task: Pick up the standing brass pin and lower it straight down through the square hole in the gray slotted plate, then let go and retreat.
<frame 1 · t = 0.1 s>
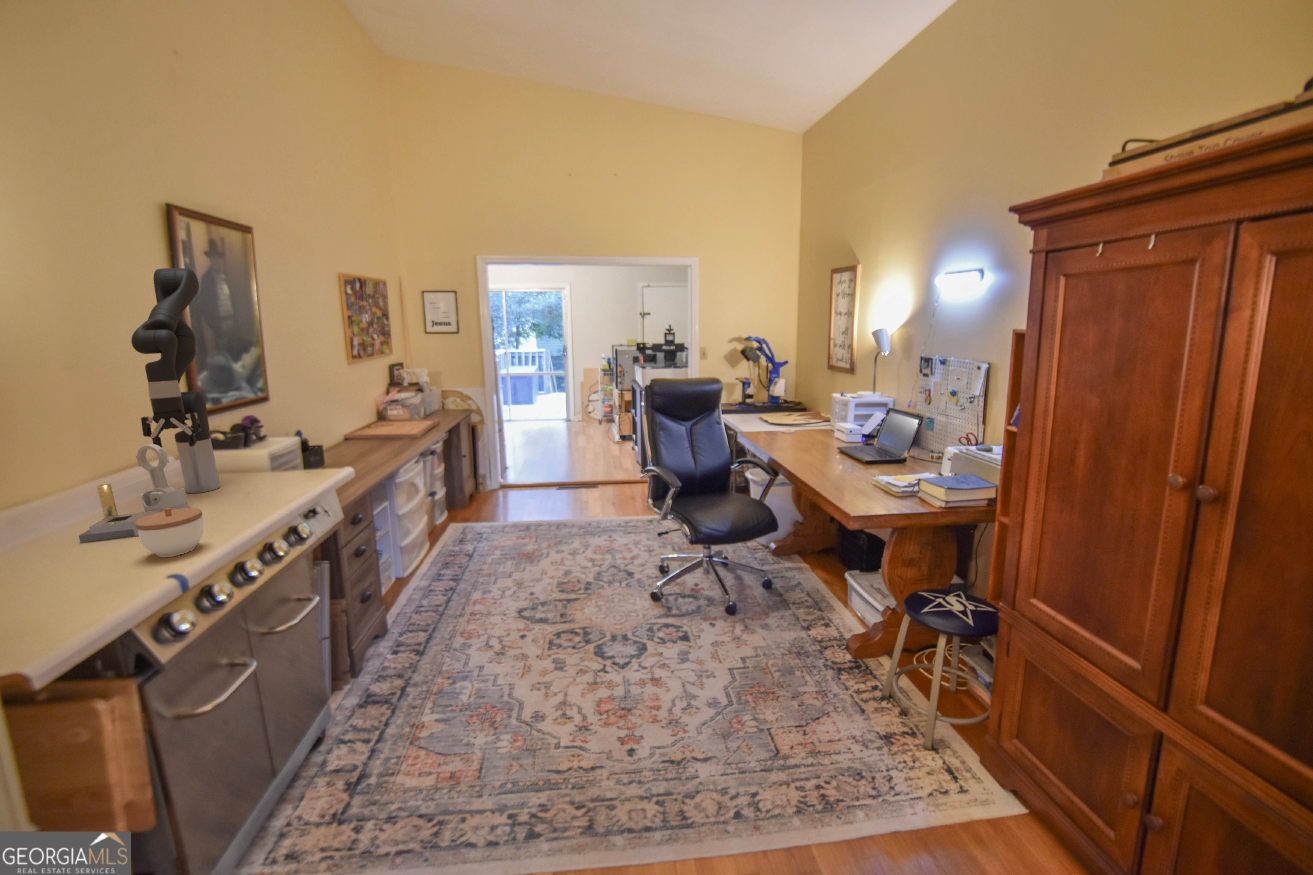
hand: (176, 447, 184), 17 cm above the counter, tool pointing down, fingers open, 8 cm apart
engine component: (166, 511, 178), on the counter
lidded bowl: (177, 552, 144), on the counter
brass pin: (113, 526, 165), on the counter
gray slotted plate: (123, 533, 159), on the counter
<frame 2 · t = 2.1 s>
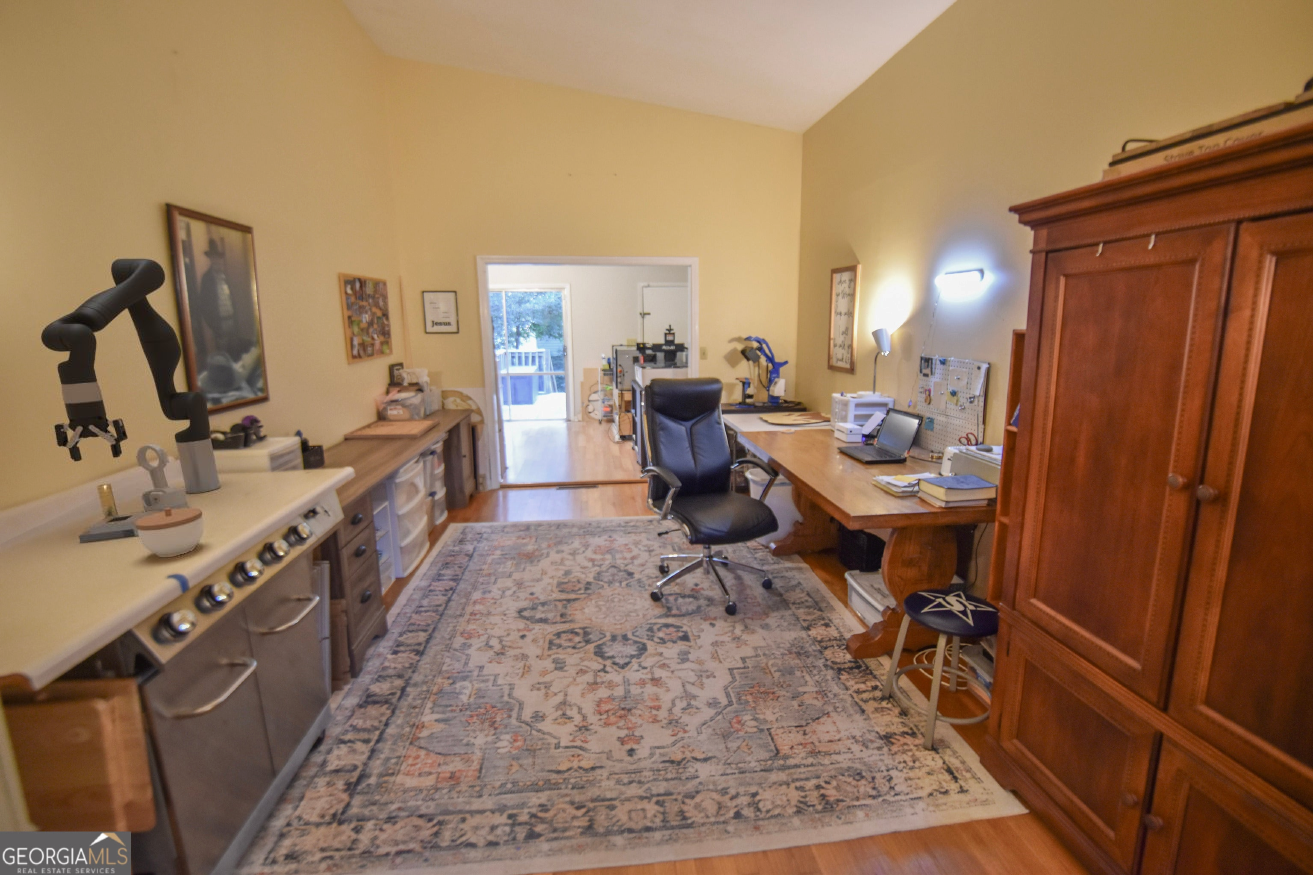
hand: (97, 458, 161), 19 cm above the counter, tool pointing down, fingers open, 8 cm apart
nothing on the counter moved.
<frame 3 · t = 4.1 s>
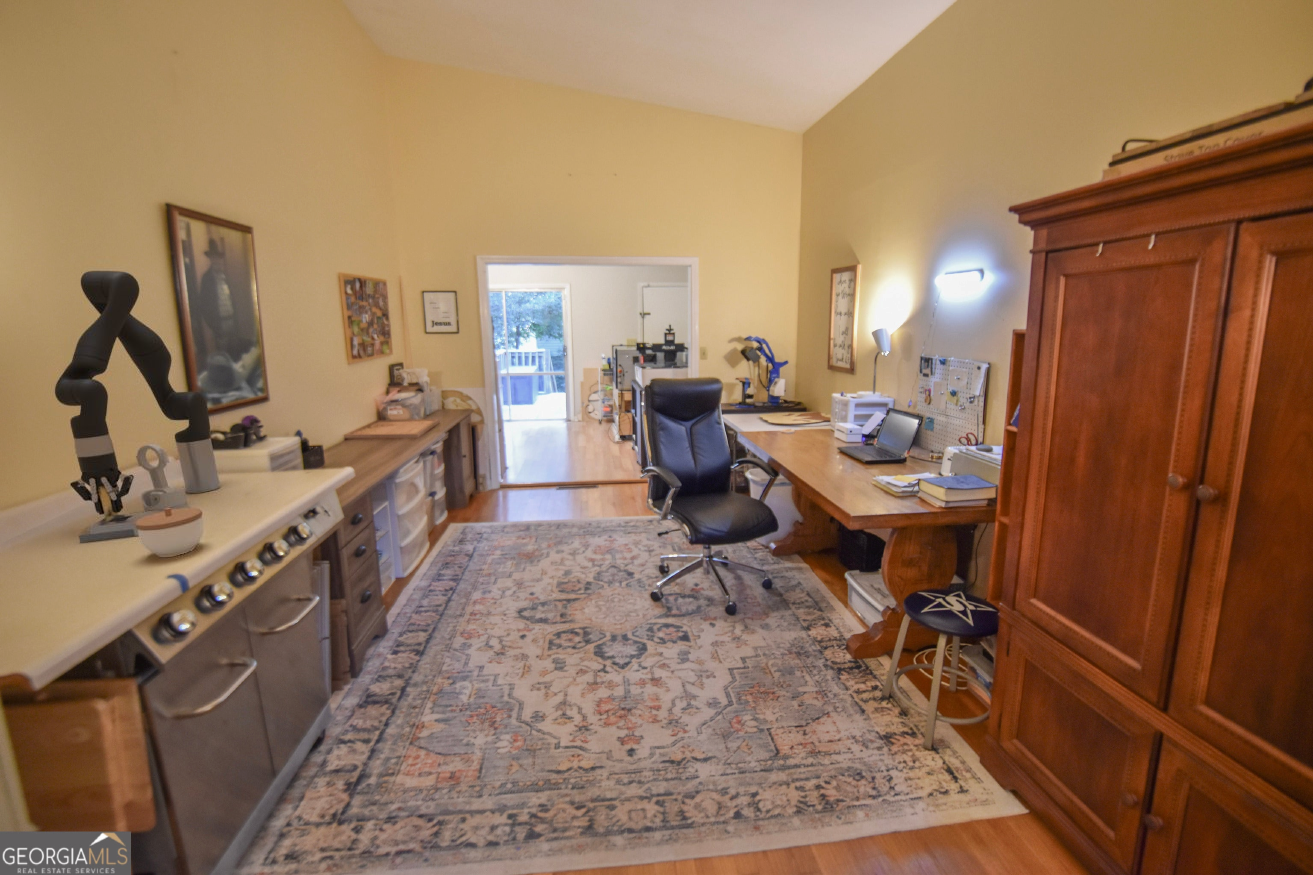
hand: (110, 512, 164), 4 cm above the counter, tool pointing down, fingers closed on brass pin, 2 cm apart
brass pin: (113, 526, 165), on the counter, touching gripper
everything else where it was.
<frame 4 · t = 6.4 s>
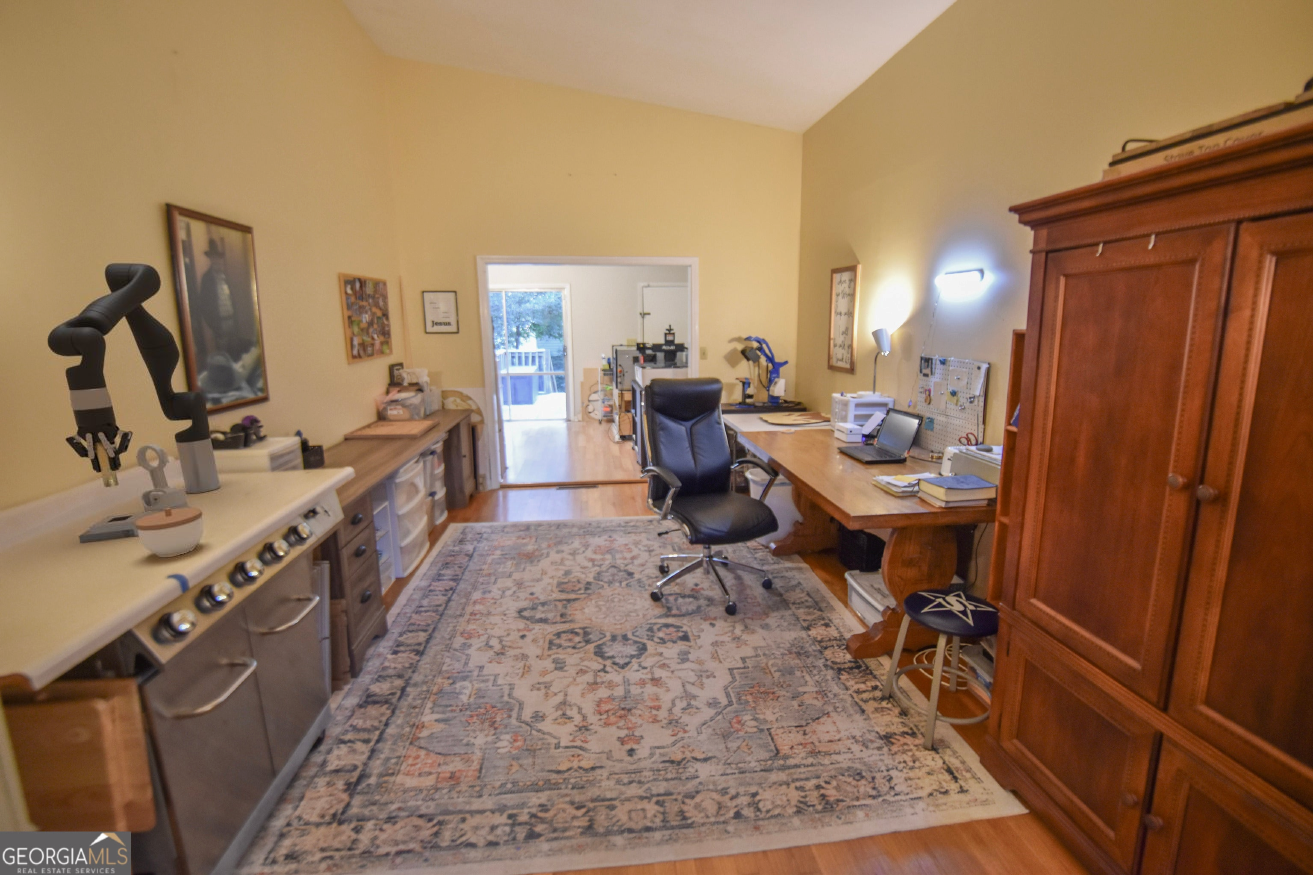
hand: (107, 470, 156), 17 cm above the counter, tool pointing down, fingers closed on brass pin, 2 cm apart
brass pin: (111, 485, 156), point 13 cm above the counter, touching gripper
everything else where it was.
when the fingers open (6 cm above the counter, at t = 8.7 s): brass pin drops 1 cm, resting in gray slotted plate.
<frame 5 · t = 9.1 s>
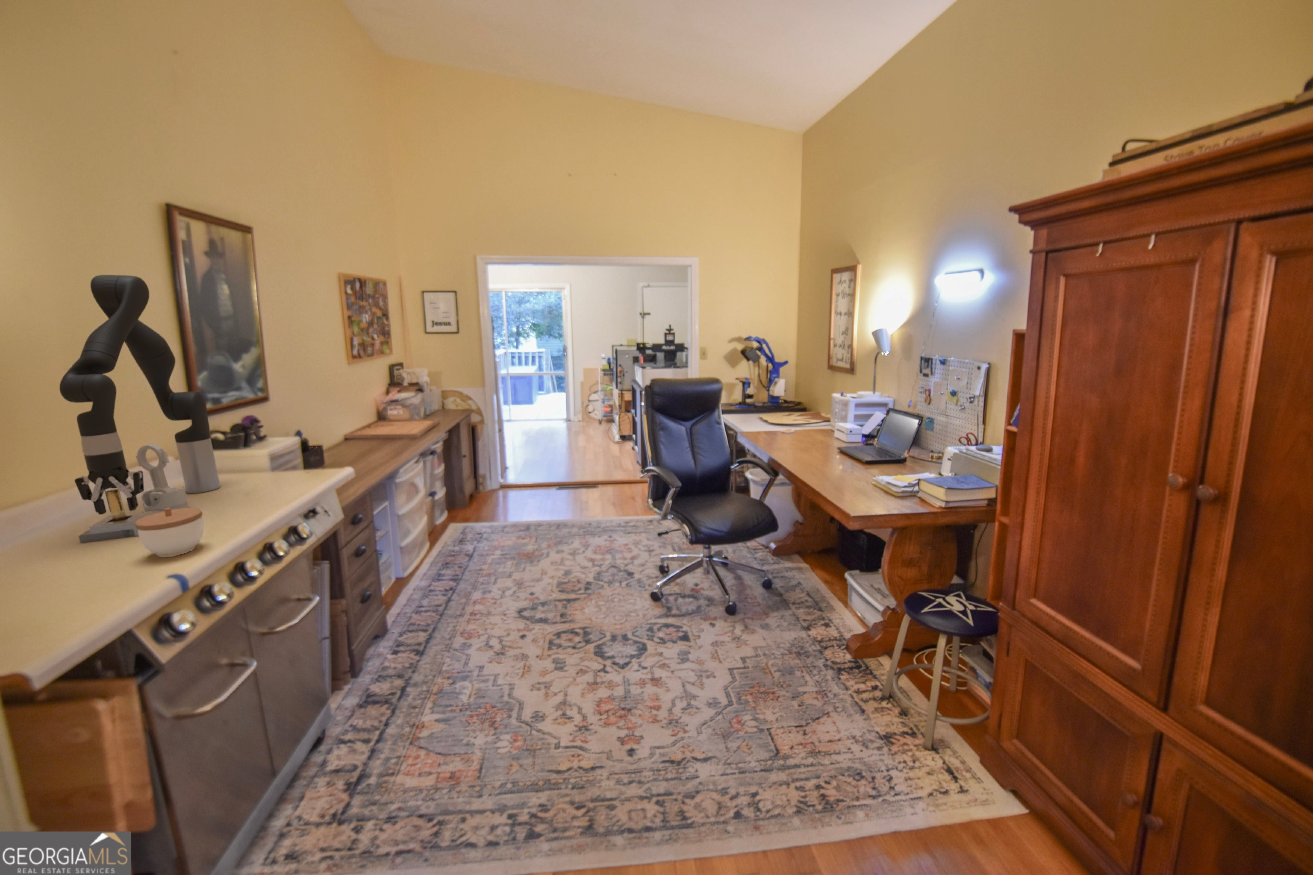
hand: (117, 511, 158), 6 cm above the counter, tool pointing down, fingers open, 6 cm apart
brass pin: (123, 532, 159), resting in gray slotted plate
everything else where it was.
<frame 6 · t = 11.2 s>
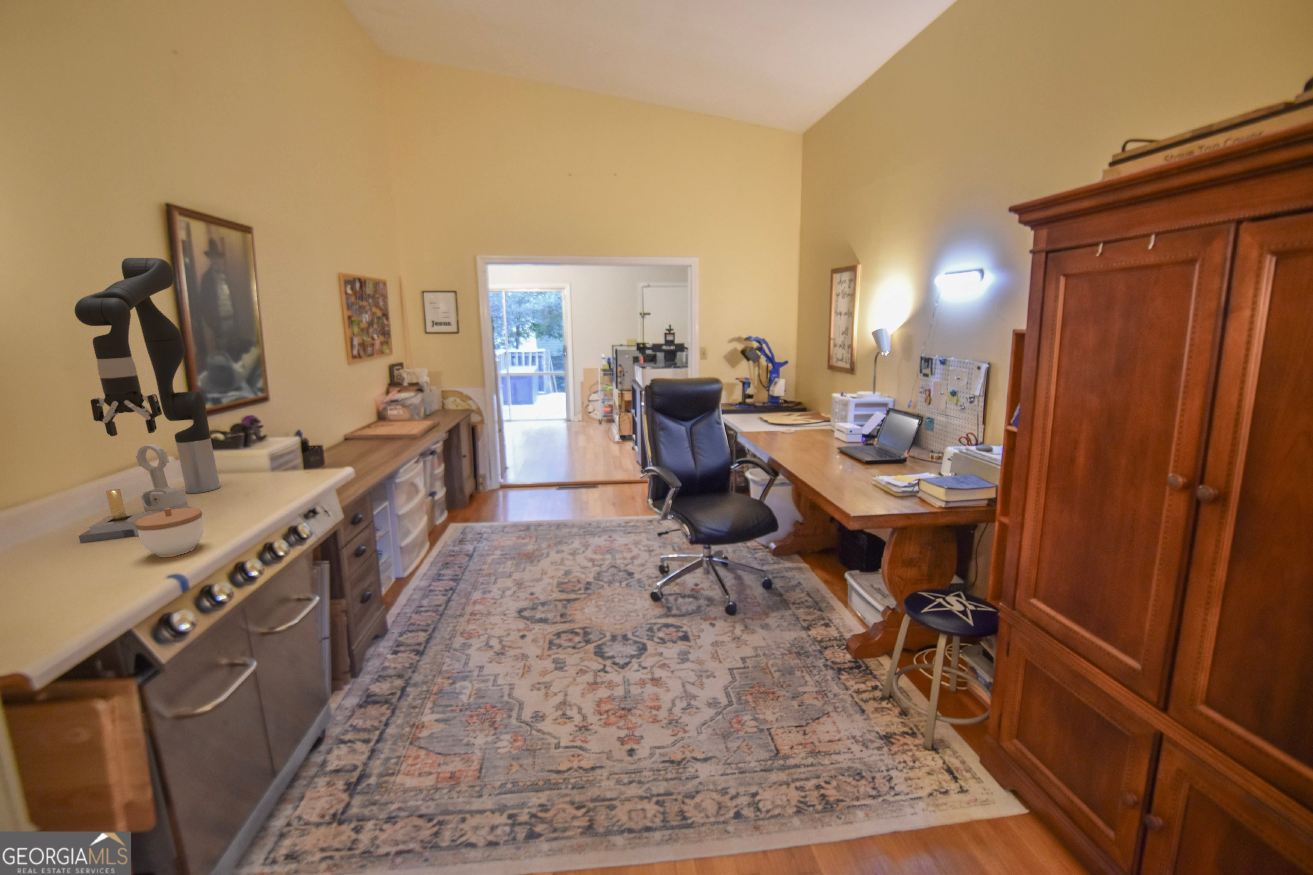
hand: (133, 434, 161), 26 cm above the counter, tool pointing down, fingers open, 8 cm apart
nothing on the counter moved.
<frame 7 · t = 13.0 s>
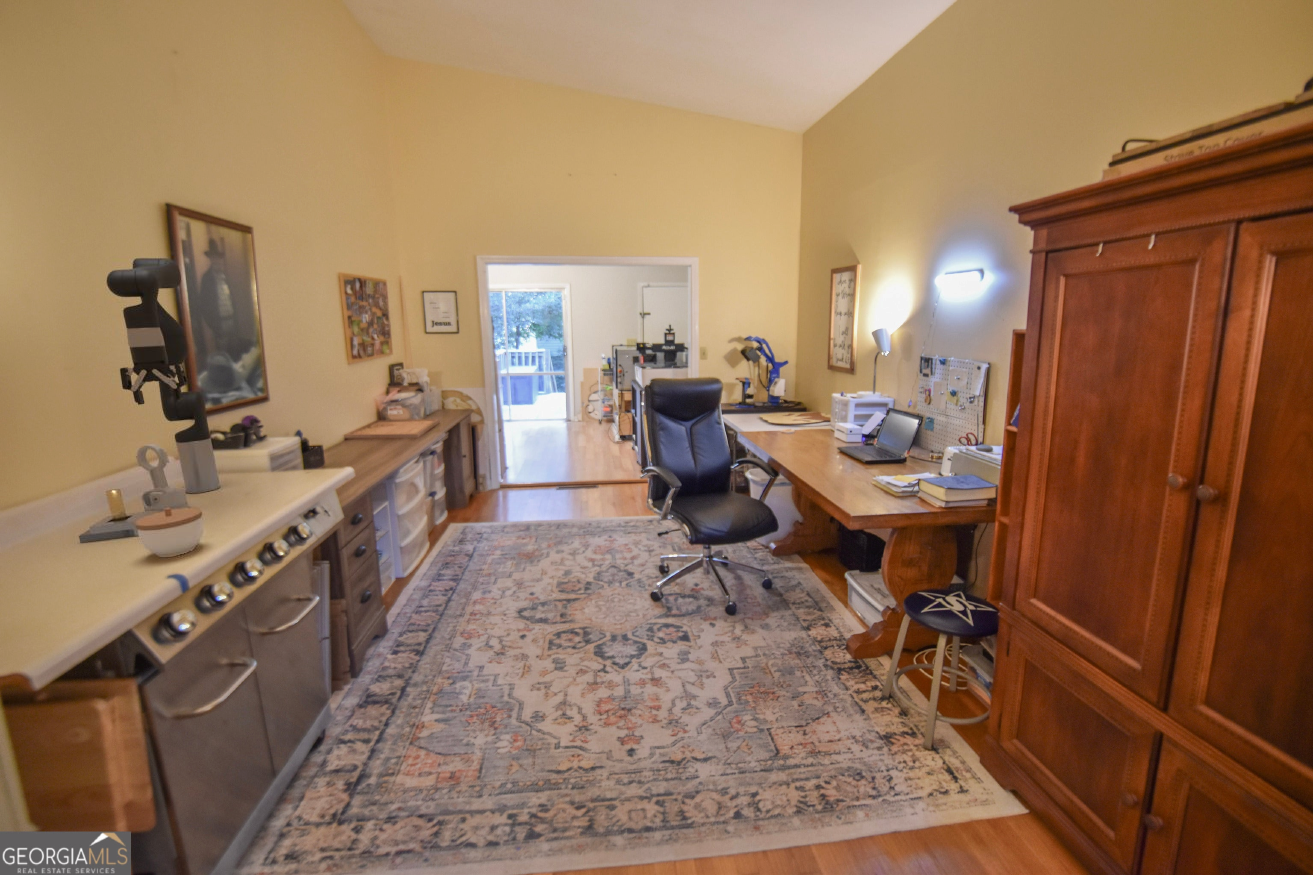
hand: (159, 402, 166), 33 cm above the counter, tool pointing down, fingers open, 8 cm apart
nothing on the counter moved.
at the end: brass pin 0.0 cm off-centre on the gray slotted plate, point 0.0 cm above the gray slotted plate's base; brass pin tilted 0°; the gripper is holding nothing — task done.
